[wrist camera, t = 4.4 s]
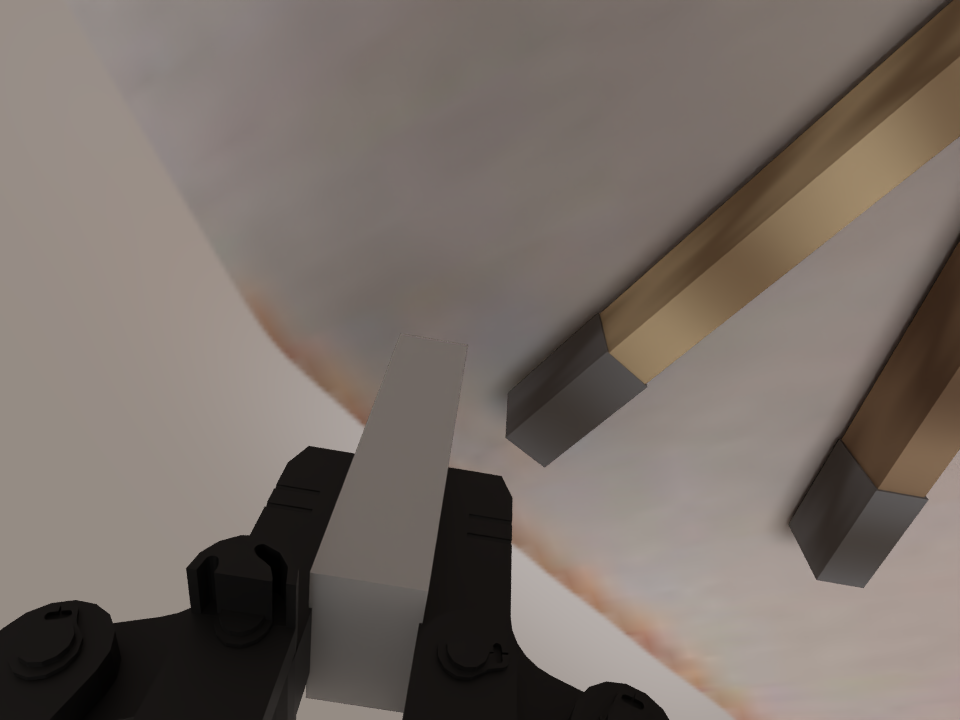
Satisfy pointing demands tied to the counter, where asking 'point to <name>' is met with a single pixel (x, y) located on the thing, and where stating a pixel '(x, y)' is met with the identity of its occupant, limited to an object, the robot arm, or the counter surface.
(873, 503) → the base
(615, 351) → the tong arm
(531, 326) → the counter surface
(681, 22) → the counter surface
